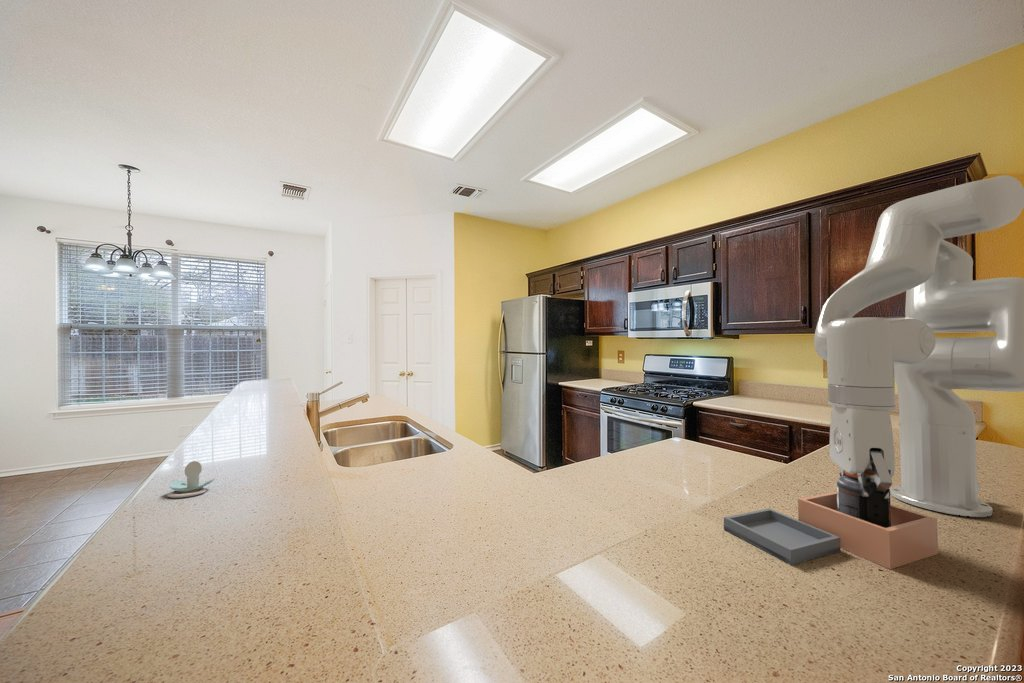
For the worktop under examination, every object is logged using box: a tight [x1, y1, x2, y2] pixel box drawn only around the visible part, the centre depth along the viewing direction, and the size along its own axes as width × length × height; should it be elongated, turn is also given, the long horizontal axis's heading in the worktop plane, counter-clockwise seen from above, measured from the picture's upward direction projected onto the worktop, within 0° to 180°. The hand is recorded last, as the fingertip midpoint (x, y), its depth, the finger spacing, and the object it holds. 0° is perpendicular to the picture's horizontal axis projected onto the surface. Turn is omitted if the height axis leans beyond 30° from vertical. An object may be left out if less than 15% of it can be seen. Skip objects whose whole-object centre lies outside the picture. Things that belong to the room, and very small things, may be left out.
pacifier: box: [166, 460, 215, 499], centre depth 75 cm, size 7×6×6 cm
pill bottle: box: [836, 471, 892, 528], centre depth 56 cm, size 6×6×11 cm
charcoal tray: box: [723, 507, 842, 566], centre depth 56 cm, size 10×10×2 cm
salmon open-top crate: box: [797, 490, 939, 570], centre depth 56 cm, size 11×11×5 cm
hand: (863, 513), depth 56 cm, fingers closed on pill bottle, 6 cm apart
